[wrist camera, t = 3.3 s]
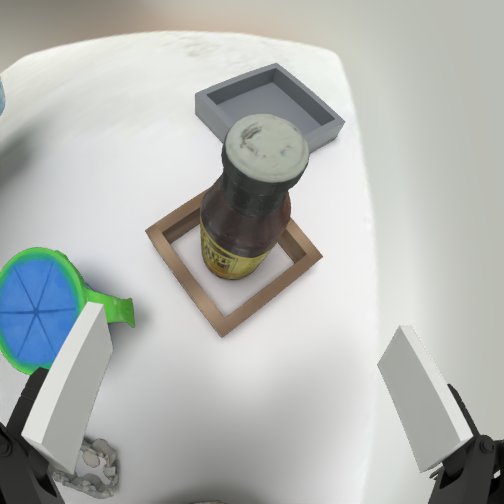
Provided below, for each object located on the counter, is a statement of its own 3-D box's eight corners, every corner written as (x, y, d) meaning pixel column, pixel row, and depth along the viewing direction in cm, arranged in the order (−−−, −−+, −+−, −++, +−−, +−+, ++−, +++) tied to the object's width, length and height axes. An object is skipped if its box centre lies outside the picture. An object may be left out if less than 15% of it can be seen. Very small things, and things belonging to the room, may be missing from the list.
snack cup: (147, 274, 30) (119, 245, 20) (147, 374, 27) (118, 390, 17) (30, 272, 28) (-20, 247, 18) (27, 360, 25) (-27, 360, 15)
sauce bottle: (194, 236, 32) (179, 102, 13) (248, 219, 33) (292, 83, 14) (214, 293, 30) (220, 215, 11) (269, 274, 32) (351, 179, 13)
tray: (195, 114, 37) (195, 93, 33) (271, 81, 40) (276, 62, 37) (259, 184, 35) (265, 166, 31) (334, 139, 38) (345, 121, 35)
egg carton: (120, 442, 24) (110, 454, 20) (120, 492, 22) (111, 507, 18) (42, 414, 23) (25, 420, 19) (44, 463, 21) (30, 473, 17)
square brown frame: (152, 243, 31) (144, 230, 27) (241, 184, 34) (245, 166, 30) (221, 337, 29) (222, 337, 25) (310, 266, 32) (323, 256, 29)
